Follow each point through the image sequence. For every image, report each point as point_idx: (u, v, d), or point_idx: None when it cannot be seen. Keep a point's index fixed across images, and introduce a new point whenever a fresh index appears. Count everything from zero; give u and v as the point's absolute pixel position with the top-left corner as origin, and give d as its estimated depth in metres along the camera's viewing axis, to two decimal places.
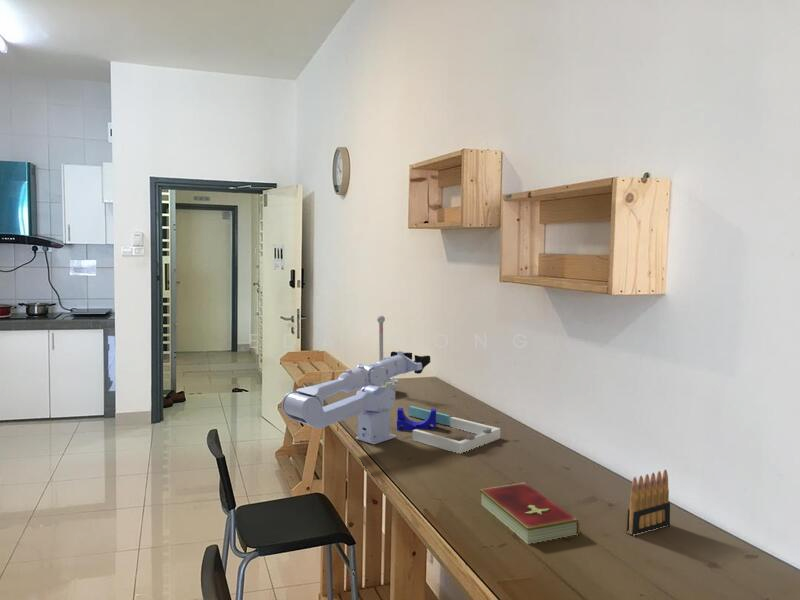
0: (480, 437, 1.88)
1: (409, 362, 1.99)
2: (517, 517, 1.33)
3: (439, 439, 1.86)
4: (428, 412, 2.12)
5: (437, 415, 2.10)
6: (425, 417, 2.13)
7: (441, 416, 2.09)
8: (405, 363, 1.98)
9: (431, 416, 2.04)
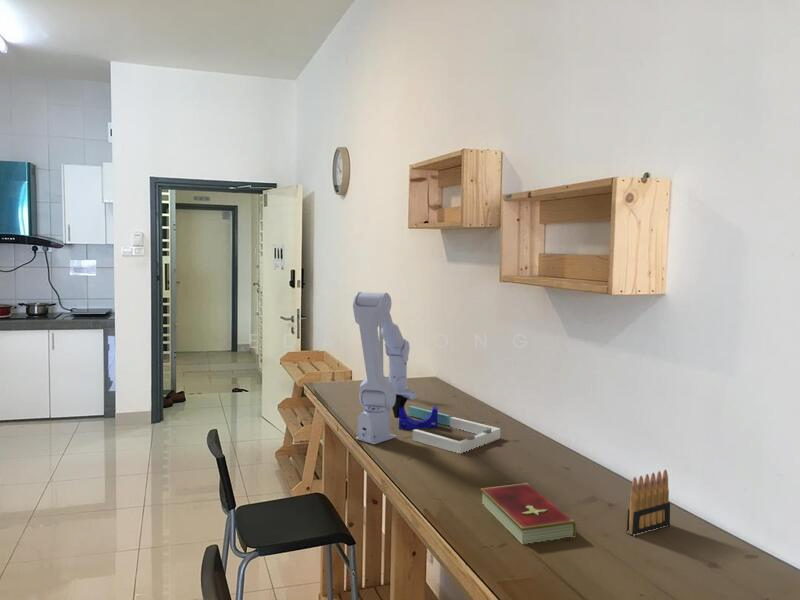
0: (480, 437, 1.88)
1: (407, 392, 2.08)
2: (513, 517, 1.33)
3: (439, 439, 1.86)
4: (428, 412, 2.12)
5: None
6: (425, 417, 2.13)
7: (441, 416, 2.09)
8: (405, 388, 2.08)
9: (433, 414, 2.05)
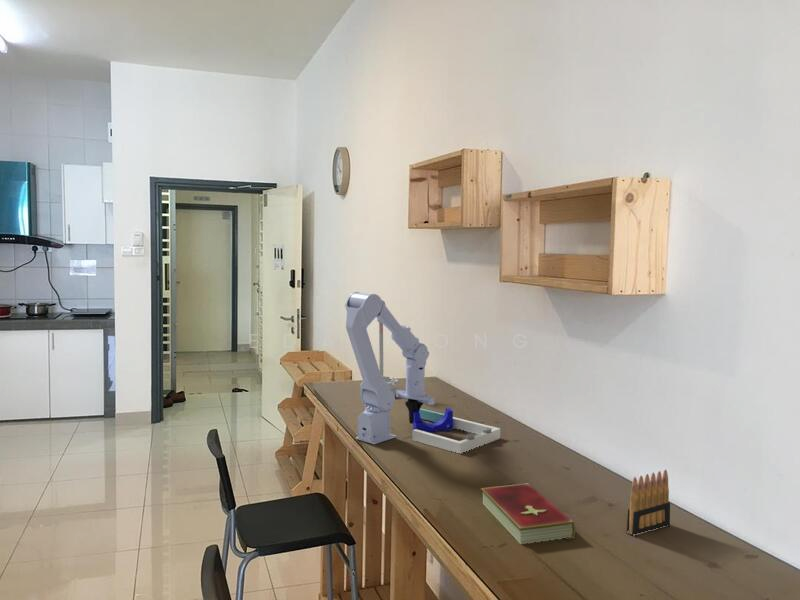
0: (480, 437, 1.88)
1: (425, 397, 2.02)
2: (512, 517, 1.33)
3: (439, 439, 1.86)
4: (428, 412, 2.12)
5: (437, 415, 2.10)
6: (425, 417, 2.13)
7: (441, 416, 2.09)
8: (423, 393, 2.02)
9: (448, 416, 2.03)
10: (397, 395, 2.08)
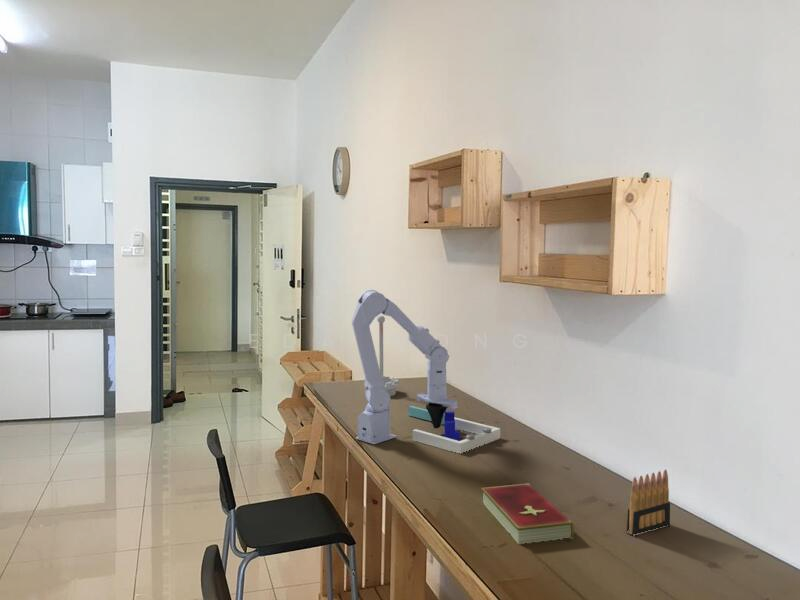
0: (480, 437, 1.88)
1: None
2: (511, 517, 1.33)
3: (439, 439, 1.86)
4: (428, 412, 2.12)
5: None
6: (425, 417, 2.13)
7: None
8: (445, 397, 1.97)
9: None
10: (418, 399, 2.02)
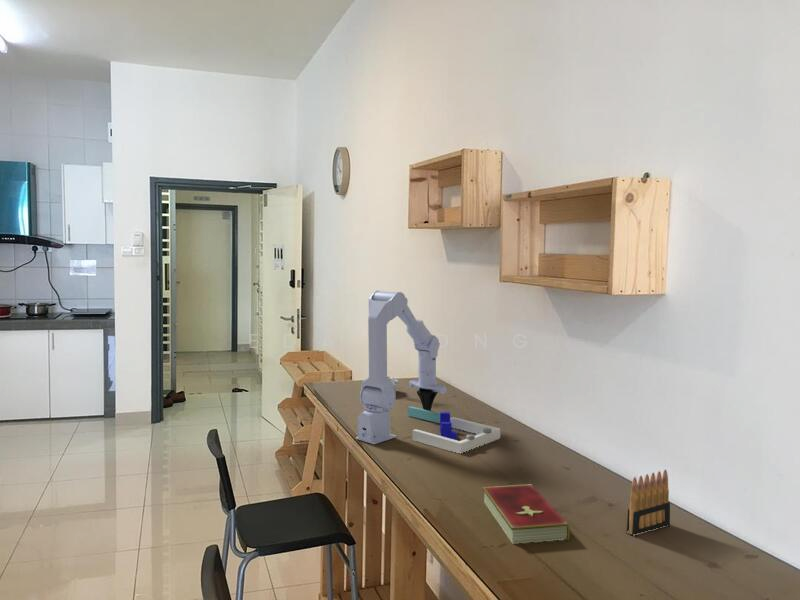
0: (480, 437, 1.88)
1: None
2: (507, 516, 1.33)
3: (439, 439, 1.86)
4: (428, 412, 2.12)
5: (437, 415, 2.10)
6: (425, 417, 2.13)
7: None
8: (435, 383, 2.13)
9: None
10: (410, 385, 2.18)
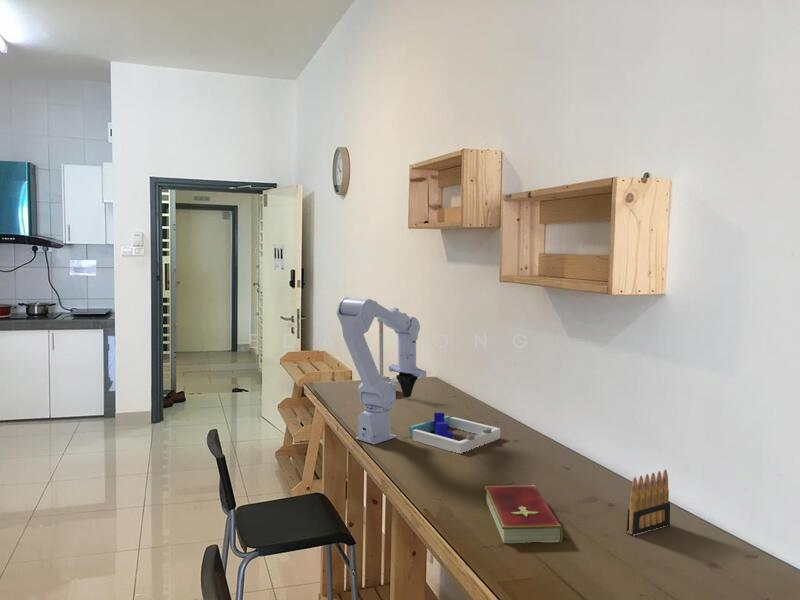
0: (480, 437, 1.88)
1: None
2: (501, 516, 1.34)
3: (439, 439, 1.86)
4: (432, 422, 2.01)
5: None
6: (429, 429, 2.00)
7: (444, 419, 2.05)
8: (415, 367, 2.05)
9: None
10: (390, 370, 2.10)
